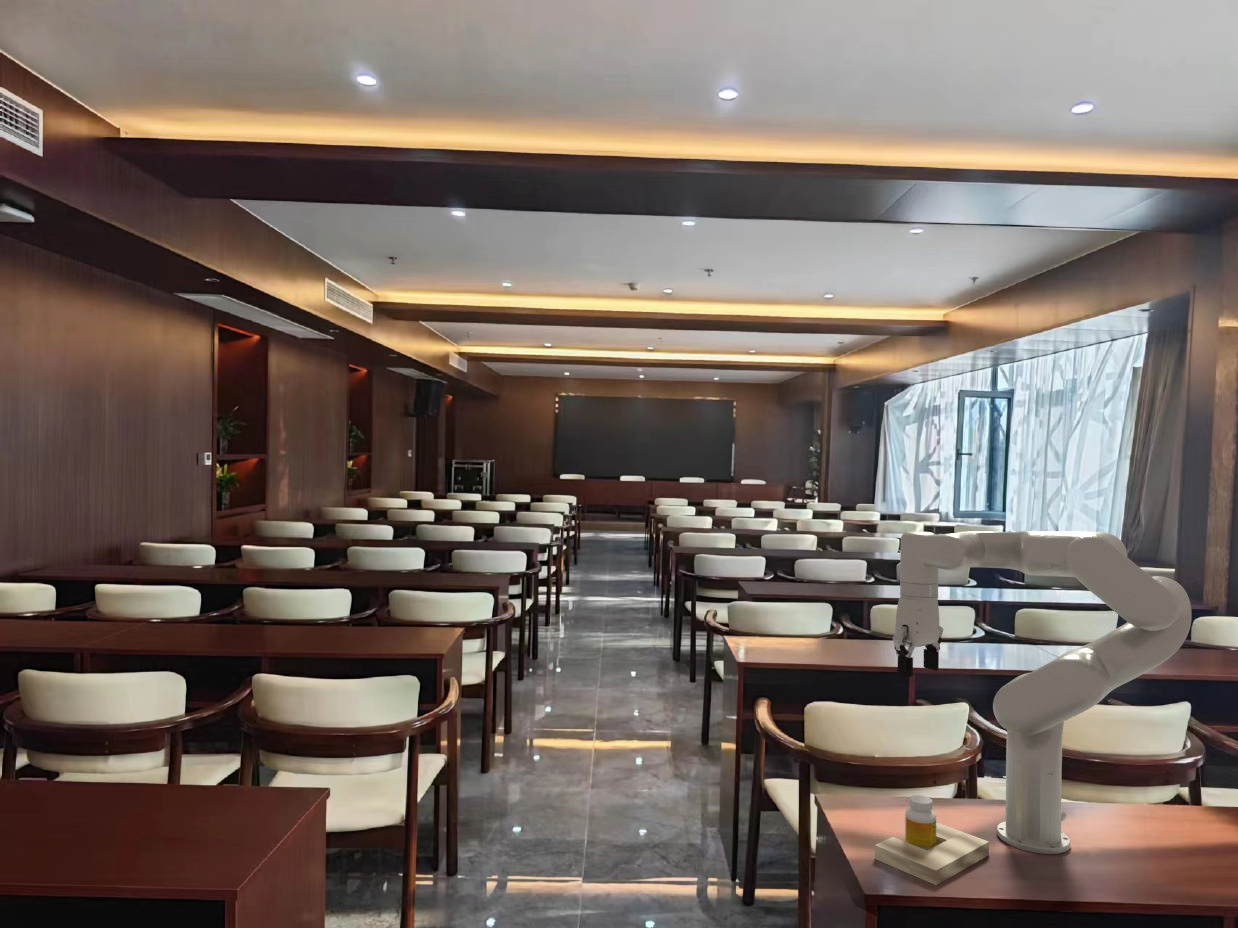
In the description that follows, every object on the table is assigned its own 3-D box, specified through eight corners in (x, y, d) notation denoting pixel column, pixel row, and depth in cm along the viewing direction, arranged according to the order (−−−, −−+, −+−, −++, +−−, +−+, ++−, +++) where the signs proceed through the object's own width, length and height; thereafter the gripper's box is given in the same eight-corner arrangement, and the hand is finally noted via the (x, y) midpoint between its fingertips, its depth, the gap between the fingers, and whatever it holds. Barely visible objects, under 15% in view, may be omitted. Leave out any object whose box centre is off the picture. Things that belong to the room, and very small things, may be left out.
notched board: (928, 832, 161) (928, 819, 161) (988, 855, 152) (988, 841, 152) (874, 858, 150) (874, 844, 150) (935, 885, 140) (936, 870, 140)
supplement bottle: (938, 860, 150) (938, 806, 150) (907, 856, 151) (907, 803, 151) (933, 846, 155) (933, 794, 155) (903, 843, 156) (903, 792, 156)
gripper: (925, 585, 182) (924, 663, 181) (879, 591, 171) (878, 674, 171) (957, 589, 176) (956, 670, 176) (912, 596, 165) (911, 682, 165)
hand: (918, 672), depth 173 cm, fingers open, 9 cm apart
